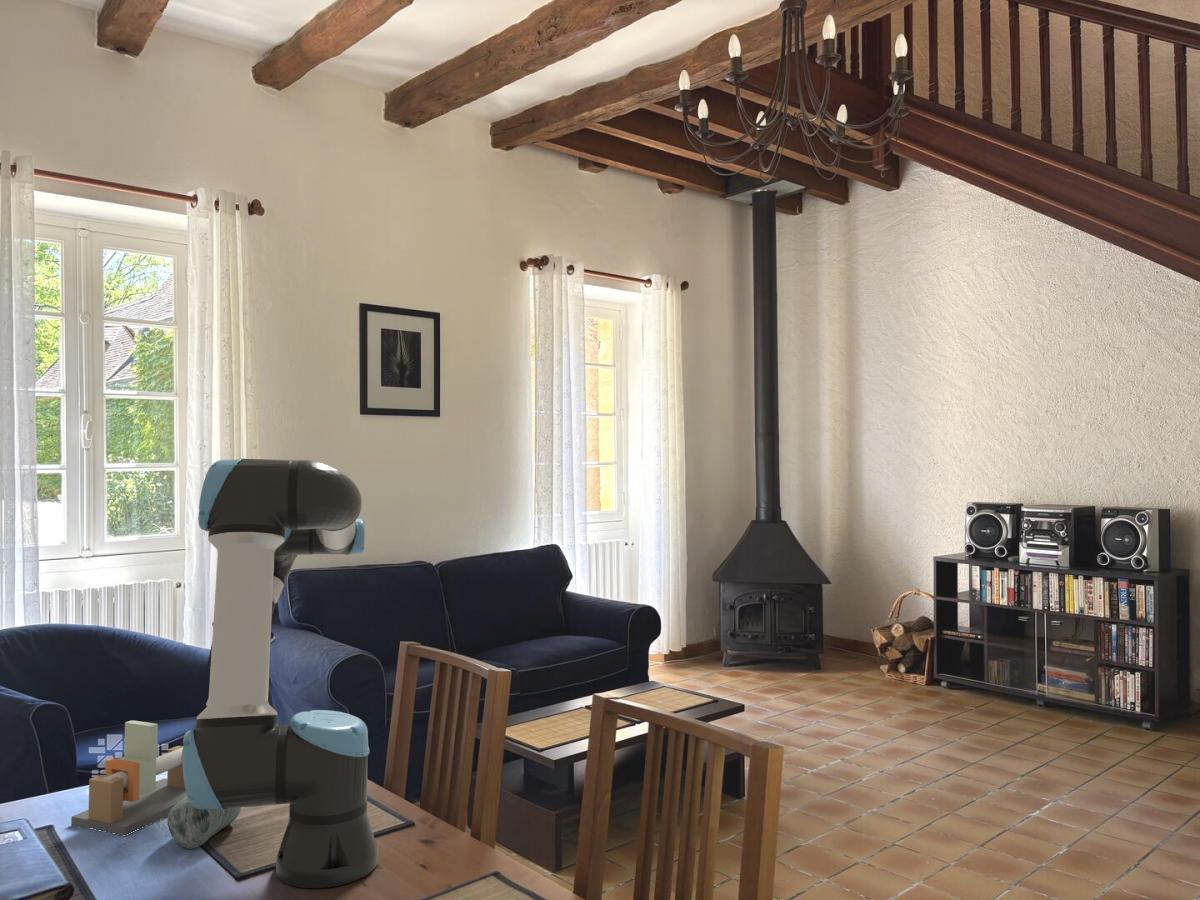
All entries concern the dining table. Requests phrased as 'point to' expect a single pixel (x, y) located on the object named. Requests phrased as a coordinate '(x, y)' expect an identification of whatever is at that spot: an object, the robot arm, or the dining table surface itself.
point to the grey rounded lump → (197, 823)
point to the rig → (130, 816)
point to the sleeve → (142, 752)
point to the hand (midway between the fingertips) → (211, 707)
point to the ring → (133, 776)
